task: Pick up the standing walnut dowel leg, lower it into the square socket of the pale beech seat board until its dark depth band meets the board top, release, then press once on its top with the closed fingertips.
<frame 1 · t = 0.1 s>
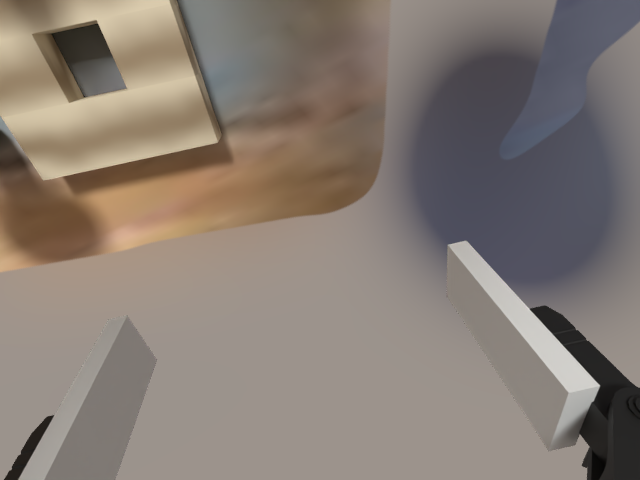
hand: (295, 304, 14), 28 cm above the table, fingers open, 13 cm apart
board: (97, 60, 32), on the table
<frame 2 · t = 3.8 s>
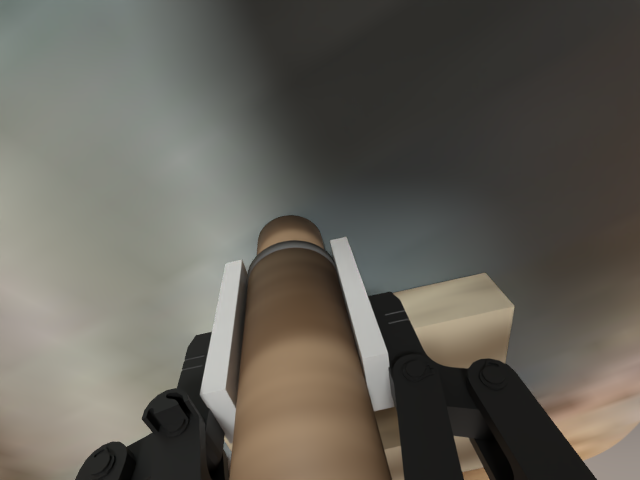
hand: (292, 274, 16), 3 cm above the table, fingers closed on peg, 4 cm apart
peg: (290, 243, 18), on the table, touching gripper
board: (358, 392, 26), on the table
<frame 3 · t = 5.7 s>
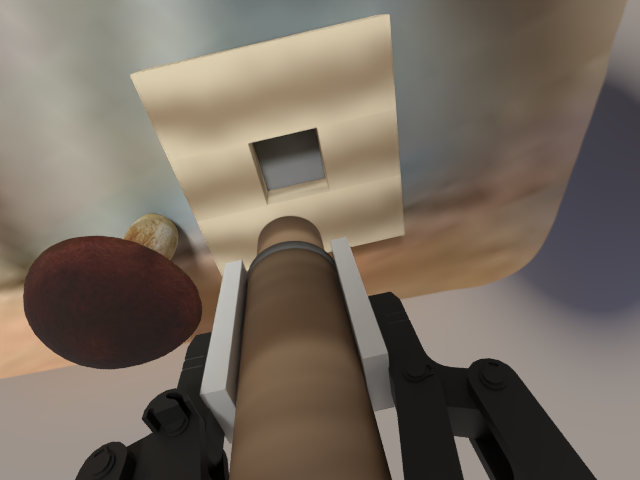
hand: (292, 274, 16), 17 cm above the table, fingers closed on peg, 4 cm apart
decorative mushroom: (161, 226, 33), on the table
peg: (290, 244, 18), point 15 cm above the table, touching gripper
board: (289, 156, 31), on the table
when the fingers open (5 cm above the table, at t = 7.7 s): peg drops 2 cm, resting in board.
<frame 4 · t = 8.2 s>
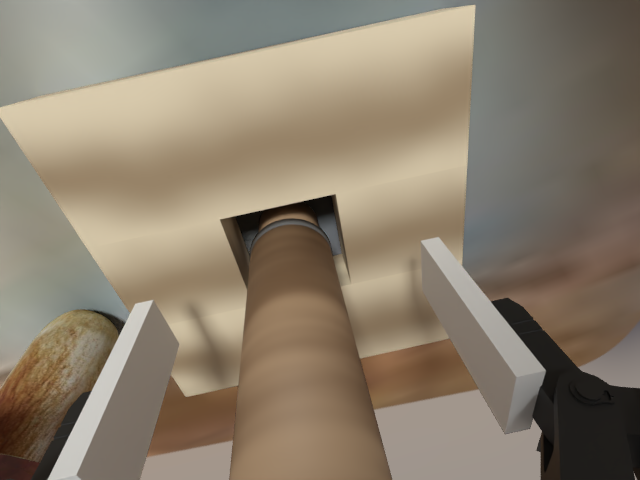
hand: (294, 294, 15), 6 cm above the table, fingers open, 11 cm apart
decorative mushroom: (95, 321, 22), on the table
peg: (288, 225, 20), resting in board
board: (288, 225, 20), on the table
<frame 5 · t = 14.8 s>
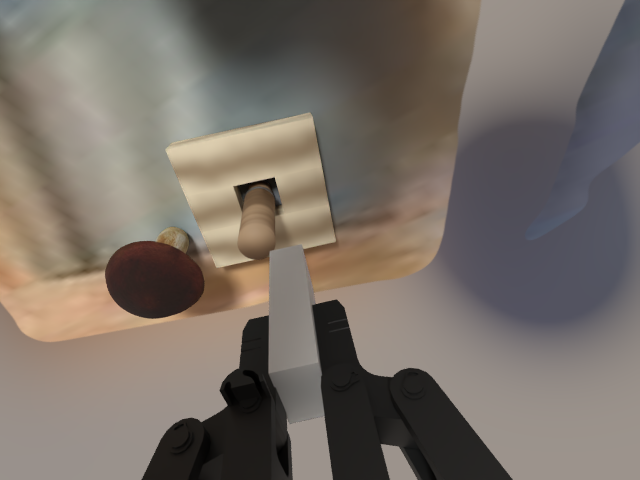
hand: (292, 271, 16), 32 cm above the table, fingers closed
decorative mushroom: (177, 234, 51), on the table
peg: (260, 191, 48), resting in board
board: (260, 191, 48), on the table
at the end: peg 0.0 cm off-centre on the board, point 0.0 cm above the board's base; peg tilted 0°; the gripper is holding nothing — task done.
